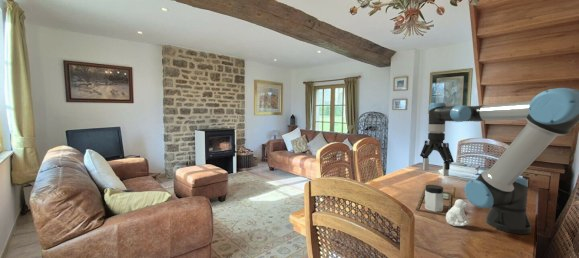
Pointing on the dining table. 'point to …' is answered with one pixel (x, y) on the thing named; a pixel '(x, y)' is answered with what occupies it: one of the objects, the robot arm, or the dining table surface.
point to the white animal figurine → (457, 214)
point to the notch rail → (443, 198)
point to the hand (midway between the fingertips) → (435, 172)
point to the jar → (434, 198)
